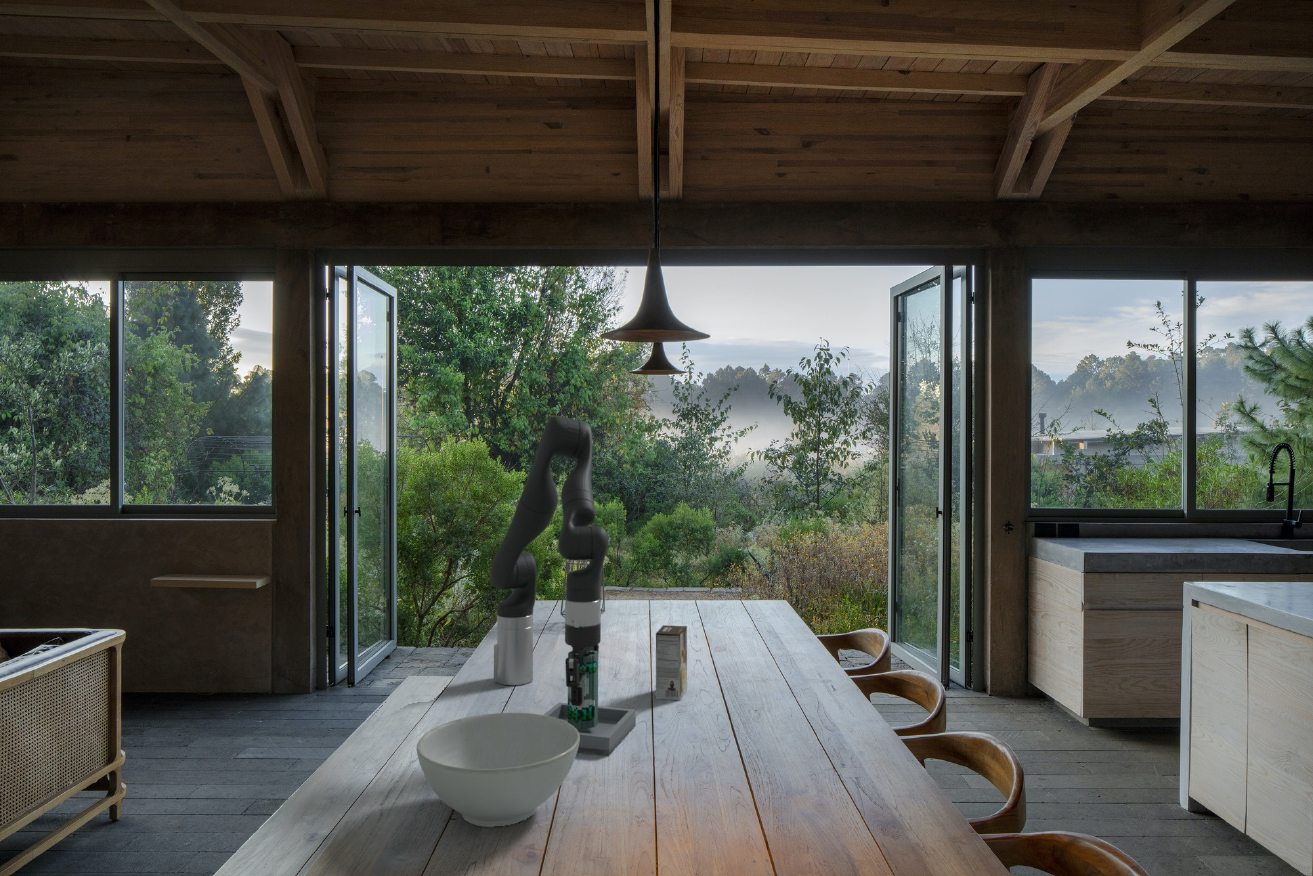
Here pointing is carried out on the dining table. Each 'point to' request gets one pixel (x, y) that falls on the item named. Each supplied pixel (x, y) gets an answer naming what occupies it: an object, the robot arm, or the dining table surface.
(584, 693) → the can
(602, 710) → the tray
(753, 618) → the dining table surface
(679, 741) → the dining table surface
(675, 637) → the coffee box
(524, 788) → the decorative bowl
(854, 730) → the dining table surface
